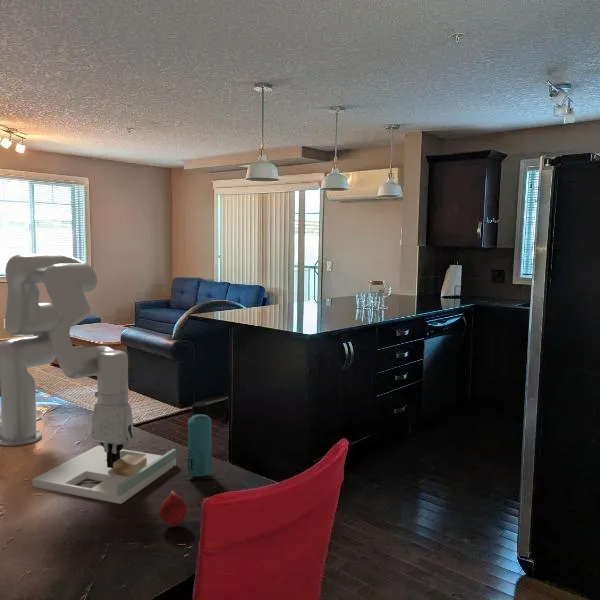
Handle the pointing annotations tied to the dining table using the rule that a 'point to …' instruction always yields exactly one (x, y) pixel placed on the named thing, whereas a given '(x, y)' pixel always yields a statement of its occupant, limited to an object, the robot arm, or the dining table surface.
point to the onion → (173, 510)
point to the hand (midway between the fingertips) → (113, 465)
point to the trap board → (104, 475)
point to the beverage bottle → (199, 442)
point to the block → (129, 465)
